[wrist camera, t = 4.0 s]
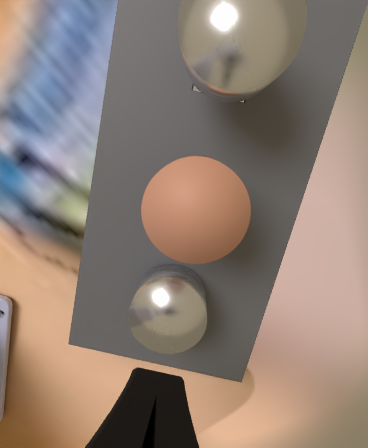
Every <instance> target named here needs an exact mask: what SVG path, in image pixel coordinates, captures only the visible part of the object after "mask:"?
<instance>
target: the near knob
mask: <svg viewBox="0 0 368 448" xmlns="http://www.w3.org/2000/svg"><path fill="white" fill-rule="evenodd" d="M306 22H307V6H306V0H181V2H180V6H179V12H178V35H179V41H180V47H181V53H182V59H183V64H184V67H185V70H186V73H187V75H188V77H189V78H190V80H191V81H192V83H193V84H194V85H195V86H196V87H197V89H198V90H199V91H201V92H202V93H203V94H205V95H206V96H208V97H210V98H212V99H214V100H217V101H221V102H240V101H243V100H247V99H249V98H251V97H253V96H255V95H257V94H258V93H259V92H261V91H262V90H263V89H265V88H266V87H267V86H268V85H269V84H270V83H272V82H273V81H274V80H275V79H276V78H277V77H279V76H280V75H281V74H282V73H283V72H284V71H285V70H286V69H287V67H288V66H289V65H290V64H291V62H292V61H293V59H294V58H295V56H296V55H297V53H298V51H299V48H300V46H301V44H302V41H303V38H304V34H305V30H306Z"/></svg>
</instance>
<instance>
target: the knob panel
mask: <svg viewBox="0 0 368 448" xmlns="http://www.w3.org/2000/svg"><path fill="white" fill-rule="evenodd" d="M180 2H181V0H118V5H117V12H116V18H115V25H114V32H113V39H112V46H111V53H110V60H109V67H108V74H107V81H106V88H105V95H104V101H103V108H102V115H101V122H100V129H99V136H98V143H97V150H96V157H95V164H94V171H93V178H92V184H91V191H90V198H89V205H88V212H87V219H86V226H85V233H84V240H83V247H82V254H81V261H80V267H79V274H78V281H77V288H76V295H75V302H74V309H73V316H72V323H71V330H70V337H69V344H70V345H75V346H79V347H84V348H88V349H93V350H97V351H102V352H106V353H111V354H115V355H120V356H124V357H129V358H133V359H138V360H142V361H147V362H151V363H156V364H161V365H165V366H170V367H174V368H179V369H183V370H188V371H192V372H197V373H201V374H206V375H210V376H215V377H219V378H224V379H228V380H233V381H237V382H242V379H243V376H244V373H245V370H246V367H247V364H248V361H249V358H250V355H251V352H252V348H253V346H254V343H255V340H256V337H257V334H258V331H259V328H260V325H261V322H262V319H263V316H264V313H265V310H266V306H267V304H268V301H269V298H270V295H271V292H272V289H273V286H274V282H275V280H276V277H277V274H278V271H279V268H280V265H281V262H282V259H283V256H284V253H285V250H286V247H287V244H288V241H289V238H290V235H291V232H292V229H293V226H294V223H295V220H296V217H297V214H298V211H299V208H300V204H301V202H302V199H303V195H304V193H305V190H306V186H307V184H308V180H309V178H310V174H311V172H312V169H313V166H314V163H315V160H316V157H317V154H318V151H319V147H320V144H321V142H322V139H323V135H324V133H325V130H326V127H327V124H328V120H329V117H330V114H331V111H332V108H333V105H334V102H335V99H336V96H337V93H338V90H339V87H340V84H341V81H342V78H343V75H344V72H345V69H346V66H347V63H348V60H349V57H350V54H351V51H352V48H353V45H354V42H355V39H356V36H357V33H358V30H359V27H360V24H361V21H362V18H363V15H364V12H365V9H366V6H367V3H368V0H306V6H307V22H306V30H305V34H304V38H303V41H302V44H301V46H300V48H299V51H298V53H297V55H296V56H295V58H294V59H293V61H292V62H291V64H290V65H289V66H288V67H287V69H286V70H285V71H284V72H283V73H282V74H281V75H280V76H279V77H277V78H276V79H275V80H274V81H273V82H272V83H270V84H269V85H268V86H267V87H266V88H265V89H263V90H262V91H261V92H259V93H258V94H257V95H255V96H253V97H251V98H249V99H247V100H244V103H243V102H221V101H217V100H214V99H212V98H210V97H208V96H206V95H205V94H203V93H201V92H197V91H193V85H194V84H193V83H192V81H191V80H190V78H189V77H188V75H187V73H186V70H185V67H184V64H183V59H182V53H181V47H180V41H179V35H178V12H179V6H180ZM190 155H203V156H208V157H211V158H214V159H216V160H218V161H220V162H221V163H223V164H224V165H226V166H227V167H229V168H230V169H231V170H232V171H234V172H235V173H236V174H237V176H238V177H239V178H240V179H241V181H242V182H243V184H244V186H245V188H246V190H247V192H248V195H249V199H250V204H251V216H250V222H249V226H248V229H247V232H246V234H245V235H244V237H243V239H242V240H241V242H240V243H239V244H238V246H237V247H236V248H235V249H234V250H233V251H231V252H230V253H229V254H227V255H226V256H224V257H222V258H220V259H218V260H216V261H213V262H210V263H205V264H188V263H182V262H179V261H176V260H174V259H171V258H170V257H168V256H166V255H165V254H163V253H162V252H161V251H159V250H158V249H157V248H156V247H155V246H154V244H153V243H152V242H151V241H150V239H149V237H148V235H147V234H146V231H145V229H144V226H143V222H142V216H141V206H142V199H143V195H144V192H145V190H146V188H147V186H148V184H149V182H150V181H151V179H152V178H153V177H154V176H155V175H156V174H157V173H158V172H159V171H160V170H161V169H162V168H164V167H165V166H166V165H168V164H170V163H171V162H173V161H175V160H177V159H179V158H182V157H185V156H190ZM164 264H177V265H181V266H184V267H187V268H189V269H190V270H192V271H193V272H194V273H196V274H197V275H198V277H199V278H200V279H201V281H202V283H203V285H204V288H205V293H206V308H207V326H206V330H205V333H204V334H203V336H202V338H201V339H200V341H199V342H198V343H197V344H195V345H194V346H193V347H191V348H190V349H188V350H186V351H183V352H180V353H175V354H164V353H158V352H155V351H152V350H150V349H148V348H146V347H145V346H143V345H142V344H141V343H140V342H139V341H138V340H137V339H136V338H135V337H134V335H133V334H132V332H131V330H130V327H129V323H128V312H129V308H130V305H131V303H132V300H133V298H134V295H135V293H136V291H137V288H138V286H139V284H140V281H141V279H142V278H143V276H144V275H145V274H146V273H147V272H148V271H150V270H151V269H153V268H155V267H157V266H160V265H164Z"/></svg>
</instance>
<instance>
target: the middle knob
mask: <svg viewBox="0 0 368 448" xmlns="http://www.w3.org/2000/svg"><path fill="white" fill-rule="evenodd" d="M141 216H142V222H143V226H144V229H145V231H146V234H147V235H148V237H149V239H150V241H151V242H152V243H153V244H154V246H155V247H156V248H157V249H158V250H159V251H161V252H162V253H163V254H165V255H166V256H168V257H170V258H171V259H174V260H176V261H179V262H182V263H188V264H205V263H210V262H213V261H216V260H218V259H220V258H222V257H224V256H226V255H227V254H229V253H230V252H231V251H233V250H234V249H235V248H236V247H237V246H238V244H239V243H240V242H241V240H242V239H243V237H244V235H245V234H246V232H247V229H248V226H249V222H250V216H251V204H250V199H249V195H248V192H247V190H246V188H245V186H244V184H243V182H242V181H241V179H240V178H239V177H238V176H237V174H236V173H235V172H234V171H232V170H231V169H230V168H229V167H227V166H226V165H224V164H223V163H221V162H220V161H218V160H216V159H214V158H211V157H208V156H203V155H190V156H185V157H182V158H179V159H177V160H175V161H173V162H171V163H170V164H168V165H166V166H165V167H164V168H162V169H161V170H160V171H159V172H158V173H157V174H156V175H155V176H154V177H153V178H152V179H151V181H150V182H149V184H148V186H147V188H146V190H145V192H144V195H143V199H142V206H141Z"/></svg>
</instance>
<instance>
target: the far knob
mask: <svg viewBox="0 0 368 448" xmlns="http://www.w3.org/2000/svg"><path fill="white" fill-rule="evenodd" d="M128 323H129V327H130V330H131V332H132V334H133V335H134V337H135V338H136V339H137V340H138V341H139V342H140V343H141V344H142V345H143V346H145V347H146V348H148V349H150V350H152V351H155V352H158V353H164V354H175V353H180V352H183V351H186V350H188V349H190V348H191V347H193V346H194V345H195V344H197V343H198V342H199V341H200V339H201V338H202V336H203V334H204V333H205V330H206V326H207V308H206V293H205V288H204V285H203V283H202V281H201V279H200V278H199V277H198V275H197V274H196V273H194V272H193V271H192V270H190V269H189V268H187V267H184V266H181V265H177V264H164V265H160V266H157V267H155V268H153V269H151V270H150V271H148V272H147V273H146V274H145V275H144V276H143V278H142V279H141V281H140V284H139V286H138V288H137V291H136V293H135V295H134V298H133V300H132V303H131V305H130V308H129V312H128Z"/></svg>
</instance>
